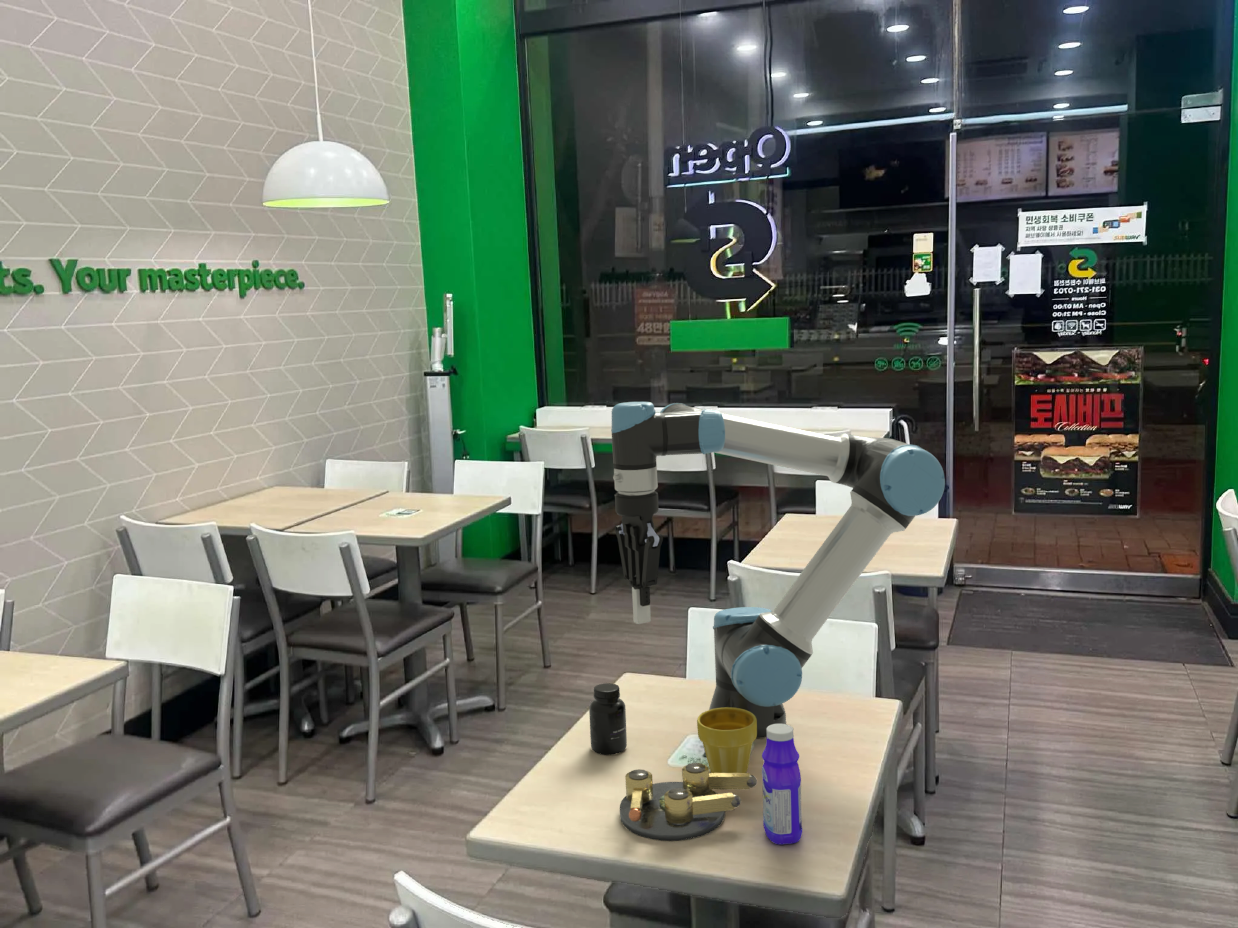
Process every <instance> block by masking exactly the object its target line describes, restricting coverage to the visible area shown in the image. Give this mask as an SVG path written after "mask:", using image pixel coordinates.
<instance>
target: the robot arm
mask: <svg viewBox="0 0 1238 928" xmlns="http://www.w3.org/2000/svg"><path fill="white" fill-rule="evenodd" d="M610 432H611V446H612V458H613V459H612V461H613V462H612V463H613V475H612V478H613V481H614V490H615V491H616V492H615V494H614V501H615V502H614V504H615V513H616V514H617V515H618V516H621V517H622V518H621V524H619V525H615V526H614V532H615V535H616V538H617V542H618V549H619V554H620V555H619V556H620V561H621V565H622V566H621V567H622V573H623V578H624V580H625V581H628V584H629V586H631V598H632V600H631V601H632V617H633V619H632V620H633V623H634V624H636V625H641V624H645V623H651V621H652V618H651V616H652V615H651V590H650V589H651V587H653V586H657V584H658V576H659V565H660V556H661V554H660V553H661V547H662V543H663V541H664V537H663V535H662V534H658V533H656V532H655V523H654V520H653V516H654V515H655V514H657V513H658V512H659V493H658V492H657V491H656V490H657V489H658V487H659V485H658V484H659V483H658V481H659V480H658V466H657V457H660V456H661V457H665V456H675V455H676V456H677V455H678V456H680V455H681V456H682V455H697V454H702V455H706V454H710V453H711V454H712V453H713V454H715V453H716V454H718V455H719V454H720V455H725V456H730V457H734V458H740V459H743V460H749V461H753V462H758V463H763V464H767V465H772V466H777V467H778V466H779V467H782V468H787V469H792V470H797V471H800V472H801V471H802V472H805V473H810V474H816V475H820V476H825V477H828V479H829V480H830V482H831V483H833V484H838V485H842V486H847V487H850V488H852V489H851V491H850V492H849V493H850V499H851V505H850V506H849V508H848V509H847V510H846V511H845V513H844V514H843V516H841V519H840V520H839V521H838V522H837V524H836V525H835V527H834V528H833V529H832V531H831V532H830V533H829V534H828V536H827V537H826V539H825V540H824V542H823V543H822V544H821V545H820V547H819V548H818V549H817V551H816V552H815V553H814V555H813V557H812V558H811V559H810V561H809V562H808V563H807V564H806V566H805V567H804V569H802V571H801V573H800V574H799V575H798V576H797V578H796V579H795V581H794V582H793V583H792V585H790V587H789V589H788V590H787V591H786V592H785V594H784V596H783V597H782V598H781V600H780V601H779V602H778V603H777V605H776V606H775V608H774V609H772V610H771V609H770V608H765V607H761V606H760V607H759V606H758V607H757V606H746V607H745V606H743V607H740V606H739V607H731V608H726V609H722V610H719V611H717V612H716V613H715V615H714V617H713V626H712V629H713V639H714V640H713V641H714V642H713V643H714V664H715V667H714V668H715V688H714V691H713V695H712V698H711V701H710V705H709V708H708V710H711V709H715V708H724V707H732V708H740V709H744V710H747V711H749V712H751V713H753V714H754V715H755V717H756V719H757V737H756V739H760V738H767V727H768V726H770V725H772V724H787V713H786V710H785V707H784V704H785V703H786V702H788V701H790V700H791V699H792V698H793V697H794V696H795V695H796V694H797V692H798V691H799V689H800V687H801V685H802V680H803V667H804V666H805V665H806V664H807V662H808V660H810V658H811V657H812V655H813V654H814V651H813V643H812V641H813V639H814V638H815V637H816V636H817V634H818V633H819V631H820V630H821V629H822V627H823V626H824V625H825V623H826V622H827V620H828V619H829V618H830V616H831V615H832V614H833V612H834V611H835V609H836V608H837V607H838V606H839V605H840V603H841V601H843V599H844V598H845V596H846V595H847V593H849V591H850V590H851V588H852V587H853V586H854V584H855V583H856V581H857V580H858V579H859V578H860V576H861V575H862V574H863V572H864V571H865V569H866V568H867V567H868V565H870V563H871V562H872V560H873V559H874V557H875V556H876V555H877V554H878V552H879V551H880V549H881V548H882V546H883V545H884V544H885V543H886V541H887V540H888V539H889V537H890V536H891V535H892V534H894V533H899V532H904V531H905V530H906V529H907V528H908V526H909V525H910V524H911V522H912V521H913V520H914V519H915V517H916V516H920V515H925V514H927V513H928V512H930V511H931V510H932V509H934V508H935V507H936V506H937V504H939V502H940V500H941V499H942V497H943V496H944V495H943V494H944V493H945V492H944V491H945V486H946V485H945V484H946V479H945V473H944V470H943V467H942V465H941V463H940V462H939V460H938V458H936V457H935V456H934V455H933V454H932V453H931V452H929V451H928V450H927V449H926V450H925V449H924V448H923V447H920V446H919V445H916V444H910V443H909V444H908V443H906V442H903V441H900V440H896V439H894V438H887V437H875V436H874V437H873V436H863V435H862V436H861V435H854V434H849V433H845V432H841V433H840V434H838V435H836V436H833V435H827V434H823V433H818V432H814V431H810V430H809V431H808V430H804V429H798V428H795V427H789V426H784V425H779V424H775V423H770V422H766V421H760V420H757V419H756V420H755V419H751V418H746V417H741V416H736V415H732V414H727V413H722V412H721V411H720V410H718V409H705V408H704V409H703V408H698V407H693V406H689V405H687V404H685V403H679V402H676V403H675V402H674V403H670V404H668V405H666V406H664V407H663V408H662V409H661V410H660V412H658V411H657V412H656V410H655V405H654V404H653V402H650V401H628V402H621V403H617V404H615V405H614V406H613V407H612V409H611V430H610Z"/></svg>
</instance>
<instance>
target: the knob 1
mask: <svg viewBox="0 0 1238 928" xmlns="http://www.w3.org/2000/svg"><path fill="white" fill-rule="evenodd" d="M624 778H625V796H626V798H627V800H628V801H630V802H631V807H630V808H631V810H630V812H629V818H630V819H631V821H634V822H637V821H640V819H641V816H642V814H641V811H642V804H643V803H645V802H648V801H650V800H651V799H652V798H653V784H654V783H653V774H652V772H650V771H648V770H645V769H641V768H640V769H637V768H636V769H633V770H631V771H628V772H627V773H626V774H625V776H624Z"/></svg>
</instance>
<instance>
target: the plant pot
mask: <svg viewBox="0 0 1238 928" xmlns="http://www.w3.org/2000/svg"><path fill="white" fill-rule="evenodd" d="M696 728H697V735H698V737H697V738H698V739H699V741H701V743H702V745H703V748H704V753H705V757H706V761H707V764H708V768H709V773H748V769H749V764H750V760H751V759H750V758H751V753H752V749H753V743H754V742H755V740H756V739H757V738H756V737H757V719H756V717H755V715H754V714H753V713H751V712H749V711H747V710H744V709H740V708H732V707H724V708H715V709H711V710H709V709H707V710H705V711H704V712H701V713H700V714H699V715H698V716H697V718H696Z"/></svg>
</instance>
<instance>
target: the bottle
mask: <svg viewBox="0 0 1238 928" xmlns="http://www.w3.org/2000/svg"><path fill="white" fill-rule="evenodd" d="M794 737H795V736H794V728H793V726H791V725H789V724H787V723H786V724H772V725H770V726H768V727H767V737H766V742H765V743H766V744H765V748H764V749H763V752H762V753H761V758H762V760H763V764H762V767H761V776H762V806H763V807H762V810H763V812H762V813H763V814H762V815H763V817H762V818H763V820H762V824H763V830H764V833H765V835H766V837H767V839H768V840H769V841H771V842H772V843H773V844H776V845H791V844H796V843H798V842H799V841H800V840H801V838H802V834H803V825H802V824H803V823H802V822H803V821H802V819H803V818H802V791H801V789H802V788H801V787H802V786H801V783H802V778H801V777H802V775H801V770H800V767H799V763H798V761H799V759H800V753H799V752H798V750H797V748H796V744H795V741H794V740H795V738H794Z"/></svg>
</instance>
